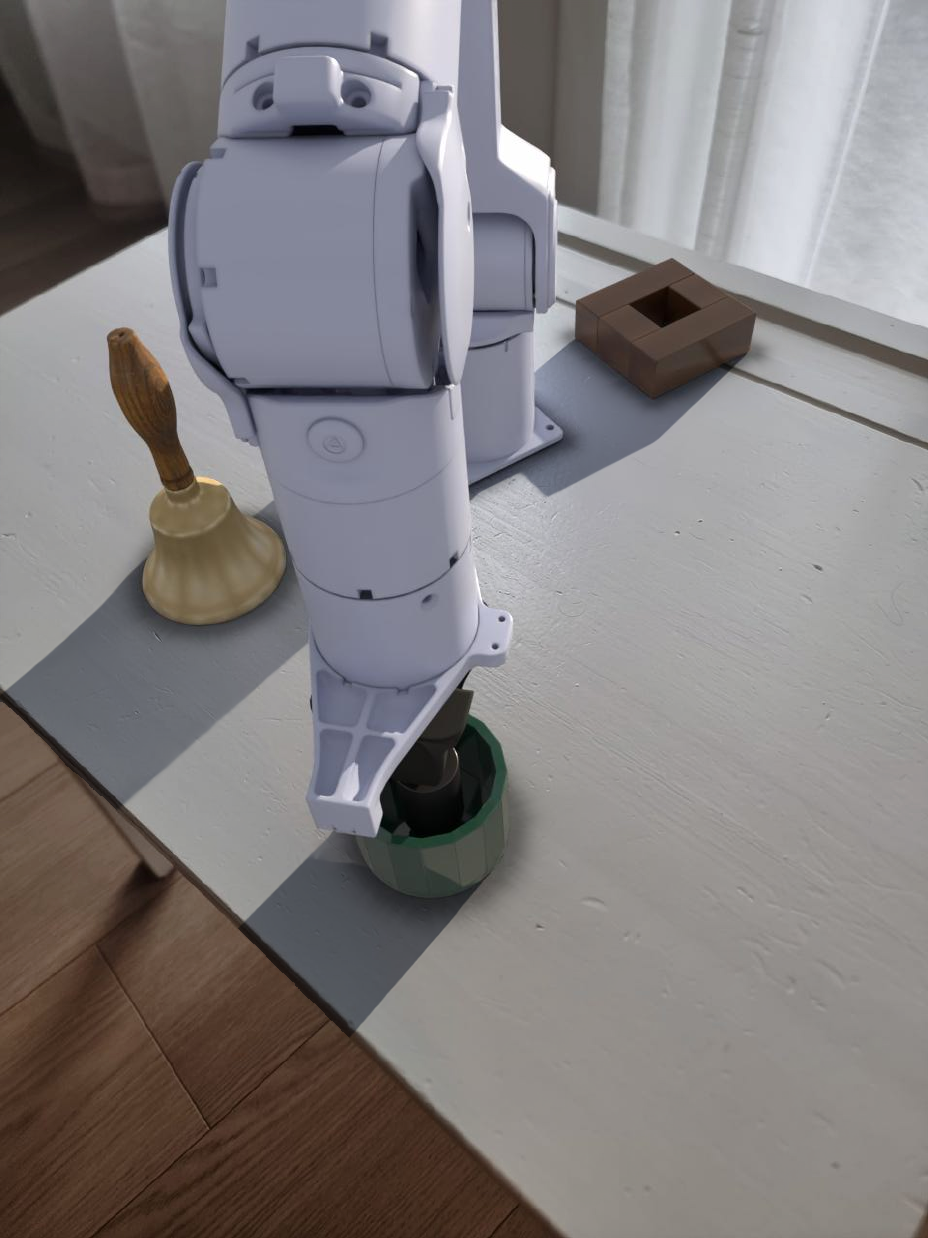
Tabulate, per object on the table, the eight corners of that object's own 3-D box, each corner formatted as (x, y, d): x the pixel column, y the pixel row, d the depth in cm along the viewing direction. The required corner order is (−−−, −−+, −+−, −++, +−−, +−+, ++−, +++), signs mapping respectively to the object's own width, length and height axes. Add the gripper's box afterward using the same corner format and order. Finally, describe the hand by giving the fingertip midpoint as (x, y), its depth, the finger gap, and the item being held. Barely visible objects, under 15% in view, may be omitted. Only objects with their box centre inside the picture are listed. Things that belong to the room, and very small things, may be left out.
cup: (332, 809, 47) (313, 755, 43) (456, 737, 49) (449, 678, 45) (408, 928, 43) (394, 880, 39) (539, 844, 45) (538, 790, 42)
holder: (574, 337, 69) (575, 300, 67) (667, 294, 72) (672, 256, 69) (652, 399, 65) (656, 361, 62) (749, 351, 67) (757, 312, 65)
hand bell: (139, 637, 55) (21, 406, 42) (146, 530, 60) (43, 296, 47) (290, 613, 55) (217, 377, 43) (283, 509, 60) (217, 272, 48)
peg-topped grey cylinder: (390, 801, 45) (365, 695, 39) (443, 771, 46) (426, 661, 39) (422, 848, 44) (401, 745, 37) (476, 816, 45) (464, 709, 38)
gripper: (455, 747, 26) (480, 943, 36) (544, 394, 35) (544, 634, 45) (202, 708, 27) (298, 909, 38) (350, 377, 36) (394, 615, 46)
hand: (421, 758), depth 41 cm, fingers closed on peg-topped grey cylinder
